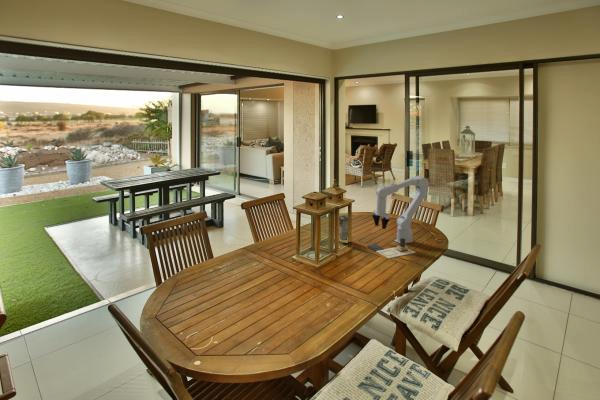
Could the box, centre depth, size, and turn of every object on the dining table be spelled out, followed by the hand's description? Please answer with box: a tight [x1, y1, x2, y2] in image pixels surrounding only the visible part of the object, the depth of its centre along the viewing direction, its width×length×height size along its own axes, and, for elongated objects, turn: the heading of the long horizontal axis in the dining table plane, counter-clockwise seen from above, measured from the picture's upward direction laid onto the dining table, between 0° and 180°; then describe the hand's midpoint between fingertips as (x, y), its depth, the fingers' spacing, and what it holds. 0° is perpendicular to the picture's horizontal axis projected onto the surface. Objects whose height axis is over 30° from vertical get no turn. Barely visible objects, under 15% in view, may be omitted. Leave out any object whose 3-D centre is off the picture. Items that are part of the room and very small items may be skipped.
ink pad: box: [366, 243, 384, 252], centre depth 223 cm, size 7×7×1 cm
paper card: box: [375, 246, 417, 259], centre depth 216 cm, size 20×12×1 cm, turn 114°
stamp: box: [396, 238, 409, 252], centre depth 217 cm, size 5×4×7 cm
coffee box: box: [339, 215, 349, 240], centre depth 235 cm, size 9×6×16 cm
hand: (380, 227), depth 231 cm, fingers open, 7 cm apart
